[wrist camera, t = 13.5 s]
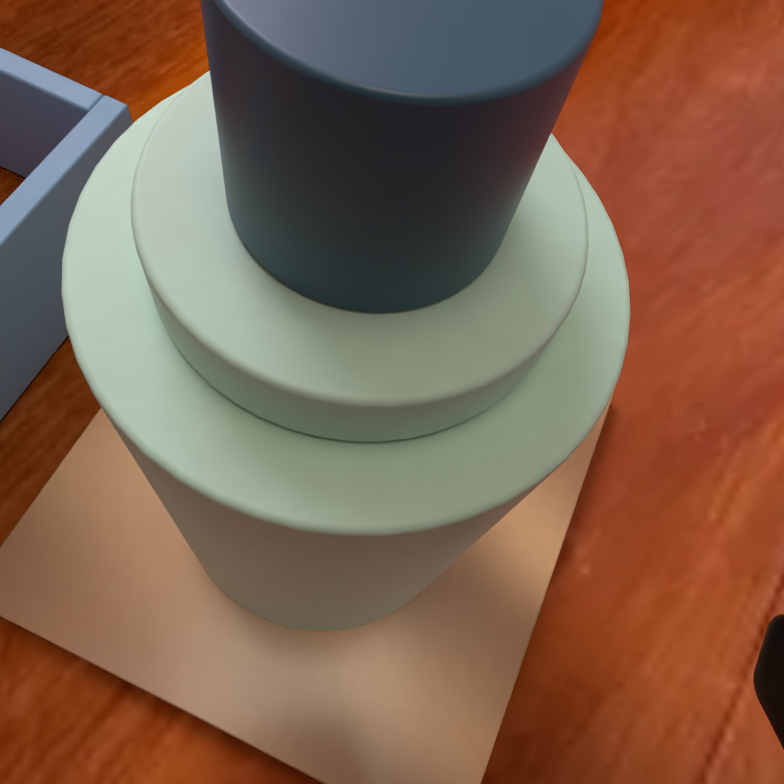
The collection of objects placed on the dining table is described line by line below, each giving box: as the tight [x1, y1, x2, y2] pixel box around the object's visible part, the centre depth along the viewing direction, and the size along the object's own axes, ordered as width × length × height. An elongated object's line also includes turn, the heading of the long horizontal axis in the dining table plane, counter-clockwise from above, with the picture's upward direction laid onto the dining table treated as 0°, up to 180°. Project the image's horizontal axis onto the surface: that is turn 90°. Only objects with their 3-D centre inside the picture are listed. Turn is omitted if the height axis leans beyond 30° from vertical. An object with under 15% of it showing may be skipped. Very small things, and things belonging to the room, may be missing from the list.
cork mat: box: [0, 391, 614, 784], centre depth 16 cm, size 11×11×1 cm
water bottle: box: [61, 0, 630, 631], centre depth 10 cm, size 6×6×12 cm
